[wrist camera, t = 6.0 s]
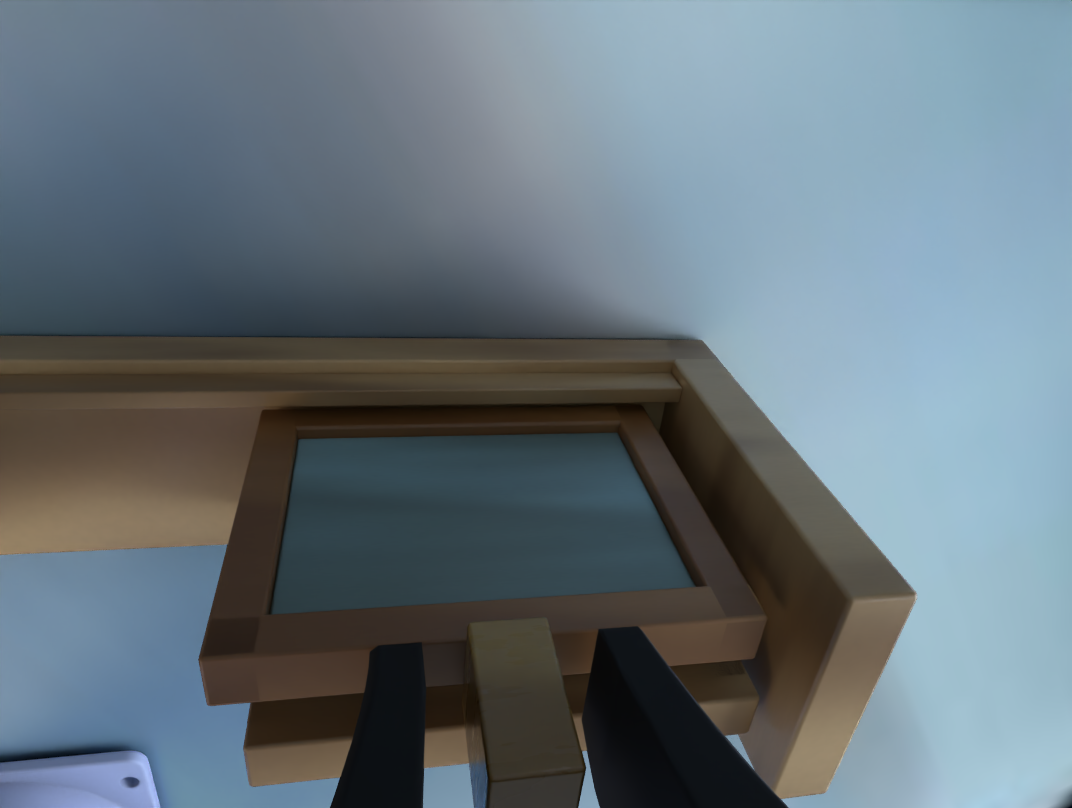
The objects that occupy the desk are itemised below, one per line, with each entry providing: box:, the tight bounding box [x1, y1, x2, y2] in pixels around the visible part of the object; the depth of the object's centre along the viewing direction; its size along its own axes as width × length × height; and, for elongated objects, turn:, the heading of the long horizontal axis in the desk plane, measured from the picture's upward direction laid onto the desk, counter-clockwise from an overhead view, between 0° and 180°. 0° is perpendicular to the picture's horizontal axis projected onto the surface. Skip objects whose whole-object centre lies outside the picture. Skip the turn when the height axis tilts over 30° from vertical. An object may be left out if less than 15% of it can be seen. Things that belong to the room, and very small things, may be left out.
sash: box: [198, 405, 768, 808], centre depth 13 cm, size 2×9×9 cm, turn 85°
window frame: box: [0, 336, 917, 799], centre depth 14 cm, size 5×20×9 cm, turn 84°
